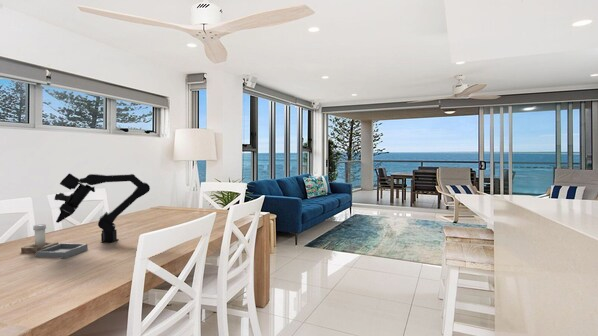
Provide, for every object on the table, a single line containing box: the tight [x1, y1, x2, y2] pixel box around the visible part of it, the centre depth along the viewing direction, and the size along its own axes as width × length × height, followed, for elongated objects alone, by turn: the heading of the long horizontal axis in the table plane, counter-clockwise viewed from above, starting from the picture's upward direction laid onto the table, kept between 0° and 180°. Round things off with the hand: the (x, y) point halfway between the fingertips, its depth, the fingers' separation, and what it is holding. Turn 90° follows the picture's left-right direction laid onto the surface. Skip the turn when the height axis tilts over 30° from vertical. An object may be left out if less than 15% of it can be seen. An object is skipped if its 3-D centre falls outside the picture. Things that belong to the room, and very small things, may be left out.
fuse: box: [32, 223, 47, 247], centre depth 155 cm, size 5×5×12 cm
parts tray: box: [35, 242, 88, 260], centre depth 151 cm, size 14×14×3 cm
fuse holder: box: [20, 241, 60, 254], centre depth 155 cm, size 10×10×3 cm
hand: (58, 220), depth 161 cm, fingers open, 9 cm apart
